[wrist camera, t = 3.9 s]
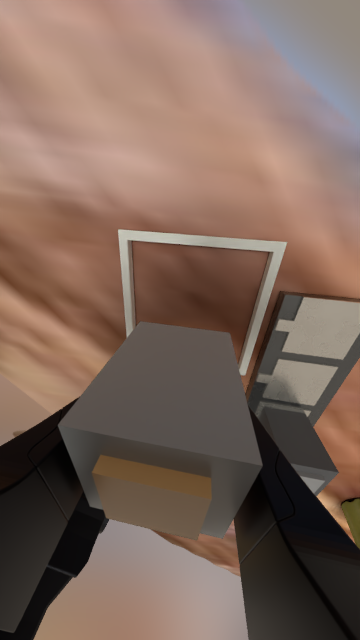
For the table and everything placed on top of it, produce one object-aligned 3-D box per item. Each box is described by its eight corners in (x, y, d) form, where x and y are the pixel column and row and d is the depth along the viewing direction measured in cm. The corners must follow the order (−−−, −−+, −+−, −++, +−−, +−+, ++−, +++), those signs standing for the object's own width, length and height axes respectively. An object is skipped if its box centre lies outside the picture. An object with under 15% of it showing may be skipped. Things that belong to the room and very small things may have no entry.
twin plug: (290, 437, 23) (318, 501, 18) (253, 430, 24) (268, 491, 18) (305, 413, 21) (341, 478, 15) (263, 406, 22) (284, 466, 16)
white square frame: (243, 369, 21) (244, 375, 20) (131, 353, 23) (128, 358, 22) (282, 242, 15) (287, 242, 14) (122, 229, 16) (118, 229, 15)
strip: (299, 431, 25) (304, 442, 23) (236, 420, 25) (238, 430, 24) (381, 301, 16) (396, 307, 15) (280, 291, 17) (286, 295, 15)
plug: (214, 397, 11) (223, 557, 6) (142, 385, 12) (83, 522, 6) (229, 332, 9) (268, 489, 3) (140, 321, 10) (43, 442, 4)
